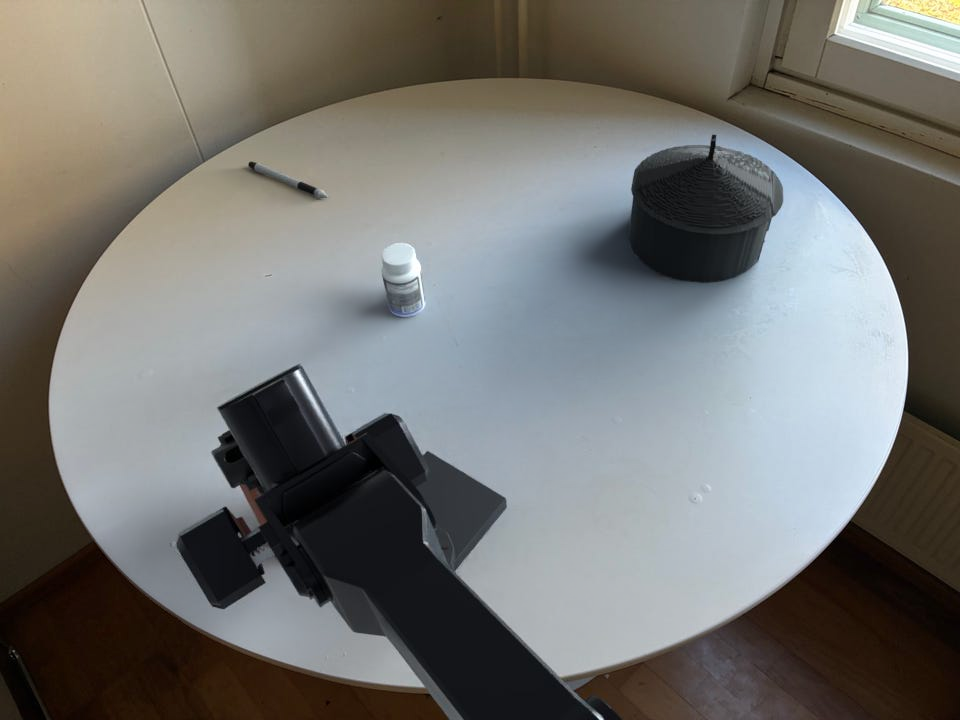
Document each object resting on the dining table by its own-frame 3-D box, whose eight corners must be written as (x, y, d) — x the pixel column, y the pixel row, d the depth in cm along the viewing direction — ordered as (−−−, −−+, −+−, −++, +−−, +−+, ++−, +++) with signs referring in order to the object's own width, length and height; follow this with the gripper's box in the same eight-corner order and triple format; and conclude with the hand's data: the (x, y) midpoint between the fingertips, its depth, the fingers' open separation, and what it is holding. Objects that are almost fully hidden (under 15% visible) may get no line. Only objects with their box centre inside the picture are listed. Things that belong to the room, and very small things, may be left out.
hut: (768, 294, 94) (800, 192, 82) (619, 276, 97) (630, 177, 86) (767, 203, 105) (794, 104, 94) (633, 191, 109) (645, 93, 98)
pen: (254, 165, 118) (252, 158, 117) (332, 199, 111) (331, 191, 111) (248, 170, 118) (246, 162, 117) (326, 203, 111) (325, 196, 110)
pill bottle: (395, 289, 98) (386, 237, 91) (430, 295, 97) (423, 243, 90) (382, 315, 95) (372, 263, 88) (418, 321, 94) (410, 269, 87)
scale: (428, 614, 69) (423, 597, 66) (343, 552, 73) (336, 534, 71) (511, 510, 75) (510, 490, 73) (428, 459, 80) (425, 439, 77)
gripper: (389, 348, 54) (341, 361, 68) (133, 488, 47) (139, 470, 62) (461, 484, 55) (399, 468, 70) (223, 639, 49) (209, 586, 63)
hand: (292, 494), depth 66 cm, fingers open, 9 cm apart
